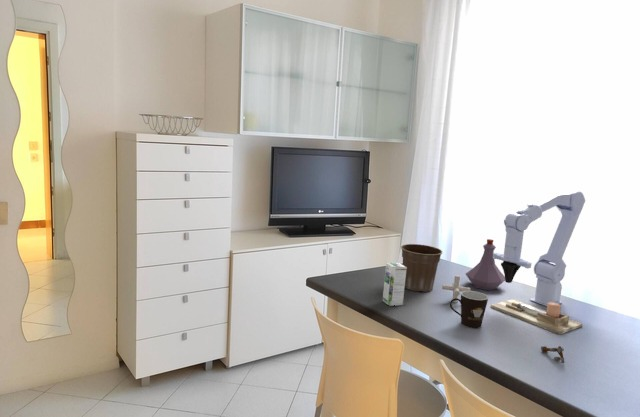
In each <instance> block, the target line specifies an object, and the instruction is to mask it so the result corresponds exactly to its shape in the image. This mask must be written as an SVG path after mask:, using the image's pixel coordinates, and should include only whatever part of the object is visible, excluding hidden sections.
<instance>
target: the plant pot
mask: <svg viewBox="0 0 640 417" xmlns="http://www.w3.org/2000/svg"><path fill="white" fill-rule="evenodd" d="M400 248H401V258H402V265H403V266H405V267H407V268H406V278H405V288H404V289H406V290H409V291H412V292H417V293H418V292H422V293H427V292H431V291H432V290H434V289H433V288H434V284H435V279H436V274H437V270H438V265H439V263H440V260H441V255H442V254H443V250H442V249H440V248H437V247H435V246H431V245H426V244H420V243H419V244H418V243H407V244H401V246H400Z"/></svg>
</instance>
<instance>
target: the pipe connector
mask: <svg viewBox="0 0 640 417" xmlns="http://www.w3.org/2000/svg"><path fill="white" fill-rule="evenodd" d="M460 279H461V276H460V275H458V274H455V275H454V282H453V283H452V285H451V284H450V285H449V284H442V286H441V289H442V290H444V291H452V299H455V298H457V299H459V295H461V292H463V291H471V287H468V286H467V287H465V286H460ZM452 299H451V300H452ZM452 303H458V300H455V301H453V302H452Z"/></svg>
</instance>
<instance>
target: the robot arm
mask: <svg viewBox="0 0 640 417" xmlns="http://www.w3.org/2000/svg"><path fill="white" fill-rule="evenodd" d="M585 203H586V199H585V195H584V193H583V192H581V191H579V190H576V191H575V190H570V189H564V188H560V187H559V188H555V189H554V190H553V191H551V193H550V195H549V196H547V197H545V198H544V199H542V200H541V201H539V202H538V203H537V204H536V203H528V204H527V206H526V207H523V208H522V209H519V210H517V211H516V212H509V213H508V214H507V215H506V216H505V218H504V219H503V225H504V226H505V233H506V234H505V243H504V248H503V250H504V251H503V254H502V253H497V252H494V253H493V258H494V260H499V261H502V262H500V266H501V267H502V271H503V275H504V276H505V281H504V282H505V283H508V284H510V283H512V282H513V280H514V278H515V275H516V274H517V272H518V271H519V269H520V268H521V267H523V268H525V269H531V268H532V262H529V261H527V260H525V259H523V258H521V255H522V250H523V249H522V247H523V242H524V241H523V240H524V234H525V231H526V230H527V229H528V227H529V226H530V225H531V223H533V222H534V221H537V220H538V219H540V218H541V217H543V216H542V215H543V213H544V212H546V211H548V210H550V209H552V208H554V207H556V208H557V210H558V211H559V212H560V213H561V217H560V221H559V223H558V225H557V228H556V230H555V233H554V236H553V237H552V239H551V242H550V245H549V248H548V250H547V252H546V253H544V254H542V255H540V256H539V258H538V260H537V261H536V262H535V264H534V266H533V272H534V275H535V278H537V279H536V287H535V294H534V297H532V298H529V301H531V302H534V303H536V304H540V305H541V306H542V305H543V306H545V307H547V304H548V303H549V302H553V303H557V304H559V305H561V304H562V303H563V302H562V301H561V296H562V289H563V285H562V283H561V281H562V280H563V279H564V278H565V272H566V268H567V265H566V262H565V261H564V259H563V257H564V254H565V252H566V250H567V247H568V244H569V243H570V241H571V240H570V239H571V237H572V234H573V233H574V230H575V227H576V225H577V222H578V220H579V217H580V215H581V212H582V210H583V208H584V205H585Z"/></svg>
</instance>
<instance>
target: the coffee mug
mask: <svg viewBox="0 0 640 417" xmlns="http://www.w3.org/2000/svg"><path fill="white" fill-rule="evenodd" d="M455 300H457V302H458V301H459V303H460V312H459V311H457V310H455V309H454V307H453V306H452V304H453V303H454V302H453V301H455ZM488 301H489V296H488V295H487V294H485V293H482V292H479V291H474V290H470V291H463V292H460V298H455V299H451V300H450V301H449V307H450V308H451V310H452V311H453V312H454V313H456V314H457V315H458V316H460V323H461V325H462V326H464V327H467V328H470V329H480V328H481V327H482V324H483V320H484V317H485V313H486V309H487V305H488Z"/></svg>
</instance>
